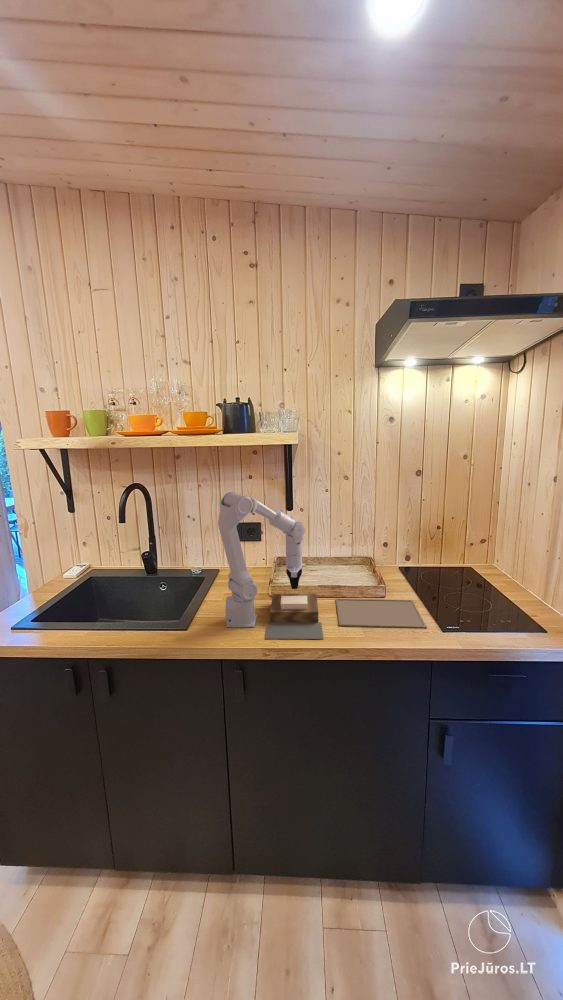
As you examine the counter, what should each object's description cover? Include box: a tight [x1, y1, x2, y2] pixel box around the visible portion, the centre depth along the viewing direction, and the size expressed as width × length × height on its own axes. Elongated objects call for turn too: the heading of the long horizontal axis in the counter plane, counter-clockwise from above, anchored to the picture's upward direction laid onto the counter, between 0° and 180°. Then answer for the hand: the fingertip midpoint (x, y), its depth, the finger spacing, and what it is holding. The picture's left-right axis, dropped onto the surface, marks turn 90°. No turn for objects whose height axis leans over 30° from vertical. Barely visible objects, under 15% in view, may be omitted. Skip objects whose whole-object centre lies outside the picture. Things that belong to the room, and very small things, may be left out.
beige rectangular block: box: [281, 596, 308, 609], centre depth 138 cm, size 9×6×2 cm, turn 88°
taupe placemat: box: [335, 598, 428, 629], centre depth 140 cm, size 19×1×28 cm
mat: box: [264, 621, 324, 641], centre depth 130 cm, size 18×10×1 cm, turn 88°
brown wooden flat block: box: [269, 593, 319, 622], centre depth 141 cm, size 16×14×4 cm
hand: (294, 588), depth 147 cm, fingers closed
